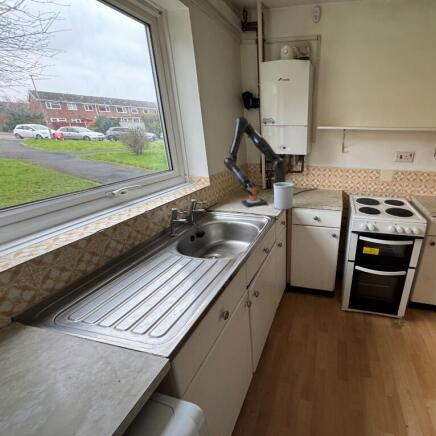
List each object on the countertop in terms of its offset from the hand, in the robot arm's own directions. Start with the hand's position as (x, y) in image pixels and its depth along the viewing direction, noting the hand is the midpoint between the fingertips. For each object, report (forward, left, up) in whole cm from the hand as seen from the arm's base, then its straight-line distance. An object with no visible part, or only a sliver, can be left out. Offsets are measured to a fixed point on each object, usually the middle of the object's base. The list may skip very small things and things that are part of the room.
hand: (254, 194), depth 182 cm
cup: (+1, -1, -5) cm, 5 cm away
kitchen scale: (+1, 0, -8) cm, 8 cm away
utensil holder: (-15, +20, -8) cm, 26 cm away
